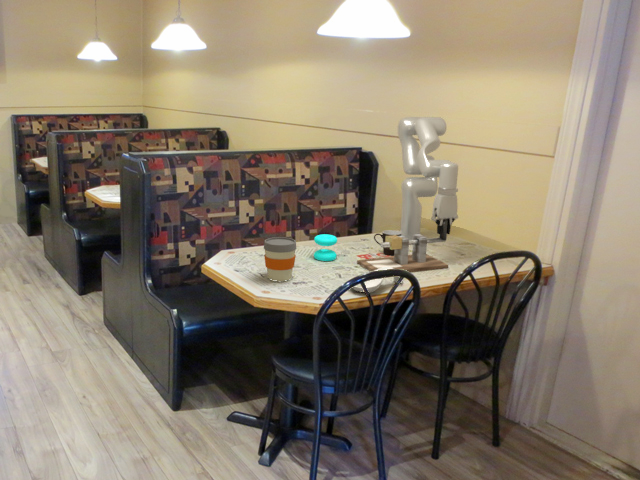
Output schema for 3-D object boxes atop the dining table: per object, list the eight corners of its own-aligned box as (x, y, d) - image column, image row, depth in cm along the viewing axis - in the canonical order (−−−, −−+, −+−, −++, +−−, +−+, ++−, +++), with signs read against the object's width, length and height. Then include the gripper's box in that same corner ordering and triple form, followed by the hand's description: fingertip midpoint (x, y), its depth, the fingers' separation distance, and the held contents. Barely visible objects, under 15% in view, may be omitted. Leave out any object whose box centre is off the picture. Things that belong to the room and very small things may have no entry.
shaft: (379, 246, 245) (380, 223, 242) (443, 240, 257) (445, 218, 255) (383, 248, 242) (384, 224, 239) (447, 242, 255) (449, 219, 252)
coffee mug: (403, 254, 268) (405, 232, 265) (392, 257, 261) (394, 235, 259) (383, 248, 275) (384, 228, 273) (371, 252, 269) (373, 230, 266)
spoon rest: (363, 298, 211) (364, 279, 209) (342, 289, 219) (342, 271, 218) (409, 286, 225) (410, 268, 223) (387, 278, 234) (388, 261, 232)
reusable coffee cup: (301, 280, 227) (302, 243, 223) (273, 285, 221) (273, 247, 217) (285, 271, 237) (286, 235, 233) (257, 276, 231) (257, 239, 227)
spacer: (385, 246, 247) (385, 236, 246) (395, 245, 249) (395, 235, 248) (391, 249, 242) (392, 239, 241) (401, 248, 244) (402, 238, 243)
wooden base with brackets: (357, 263, 251) (358, 235, 248) (424, 256, 265) (426, 229, 261) (377, 276, 235) (379, 246, 232) (448, 268, 249) (450, 239, 246)
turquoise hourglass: (310, 235, 256) (329, 232, 261) (309, 257, 258) (328, 254, 263) (321, 240, 248) (341, 237, 253) (321, 263, 250) (340, 260, 255)
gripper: (457, 189, 256) (453, 230, 261) (425, 191, 250) (422, 233, 255) (468, 192, 250) (464, 234, 254) (435, 194, 243) (432, 237, 248)
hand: (443, 233), depth 255 cm, fingers closed on shaft, 3 cm apart
